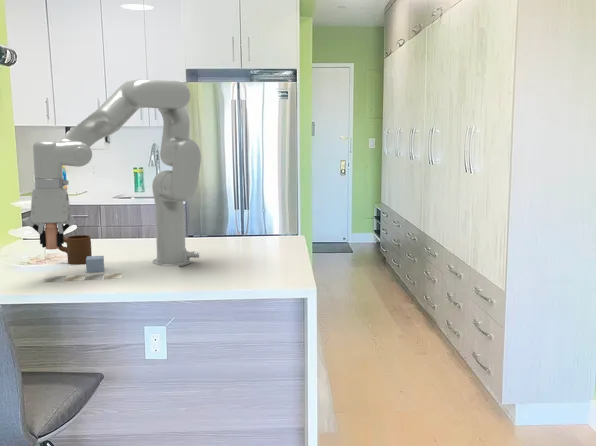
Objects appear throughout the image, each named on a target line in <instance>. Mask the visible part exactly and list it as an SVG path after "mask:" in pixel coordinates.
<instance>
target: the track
mask: <svg viewBox="0 0 596 446" xmlns="http://www.w3.org/2000/svg"><path fill="white" fill-rule="evenodd" d="M112 279H113V280H115V279H118V280H120V279H123V273H121V272H119V273H116V272H115V273H105V274H104V273H100V274H80V275H79V274H76V275H61V276H60V275H59V276H58V275H57V276H47V277H46V278H45V280H44V281H43V283H55V282H57V283H58V282H75V281H76V282H77V281H94V280H95V281H96V280H112Z"/></svg>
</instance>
